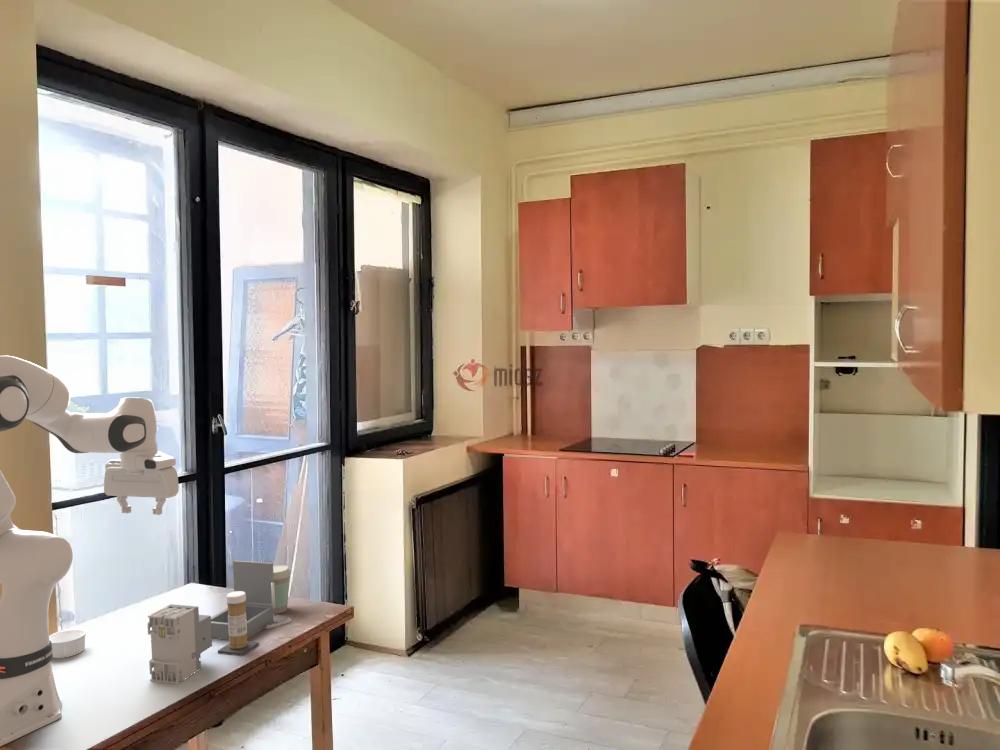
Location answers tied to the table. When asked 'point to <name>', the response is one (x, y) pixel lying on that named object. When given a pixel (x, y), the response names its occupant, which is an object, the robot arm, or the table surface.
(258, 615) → the case
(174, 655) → the circuit breaker
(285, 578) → the coffee cup
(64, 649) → the ramekin
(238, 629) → the sprinkles bottle
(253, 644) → the pad
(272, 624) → the rod
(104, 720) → the table surface
